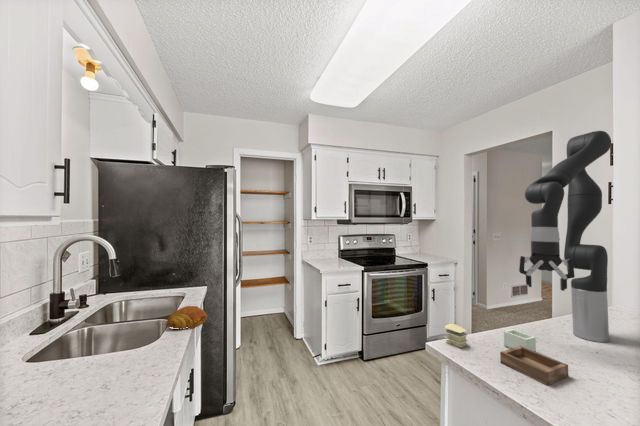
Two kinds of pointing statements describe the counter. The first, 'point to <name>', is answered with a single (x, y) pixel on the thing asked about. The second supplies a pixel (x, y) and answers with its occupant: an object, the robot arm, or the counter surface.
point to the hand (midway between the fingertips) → (545, 288)
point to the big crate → (534, 365)
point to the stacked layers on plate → (455, 335)
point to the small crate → (519, 340)
